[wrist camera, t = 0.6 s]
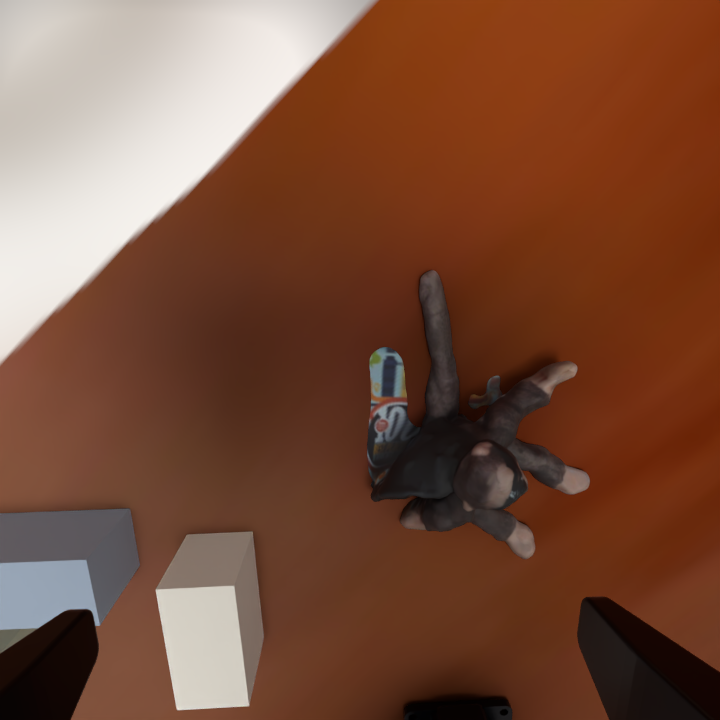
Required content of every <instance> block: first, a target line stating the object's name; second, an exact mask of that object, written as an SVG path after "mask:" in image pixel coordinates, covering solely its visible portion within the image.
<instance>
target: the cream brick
mask: <svg viewBox="0 0 720 720" xmlns="http://www.w3.org/2000/svg"><path fill="white" fill-rule="evenodd" d="M156 595H157V600H158V606H159V612H160V617H161V623H162V629H163V634H164V640H165V645H166V651H167V657H168V662H169V668H170V674H171V679H172V685H173V691H174V696H175V702H176V708H177V710H189V709H207V708H225V707H242V706H249V704H250V700H251V695H252V691H253V686H254V681H255V677H256V672H257V667H258V663H259V658H260V653H261V649H262V644H263V639H264V633H263V624H262V615H261V605H260V596H259V587H258V577H257V568H256V559H255V549H254V540H253V531H252V532H231V533H209V534H188V535H186V537H185V539H184V541H183V542H182V544H181V546H180V548H179V549H178V551H177V553H176V555H175V556H174V558H173V560H172V562H171V563H170V565H169V567H168V569H167V570H166V572H165V574H164V576H163V577H162V579H161V581H160V583H159V585H158V586H157V588H156Z"/></svg>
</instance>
